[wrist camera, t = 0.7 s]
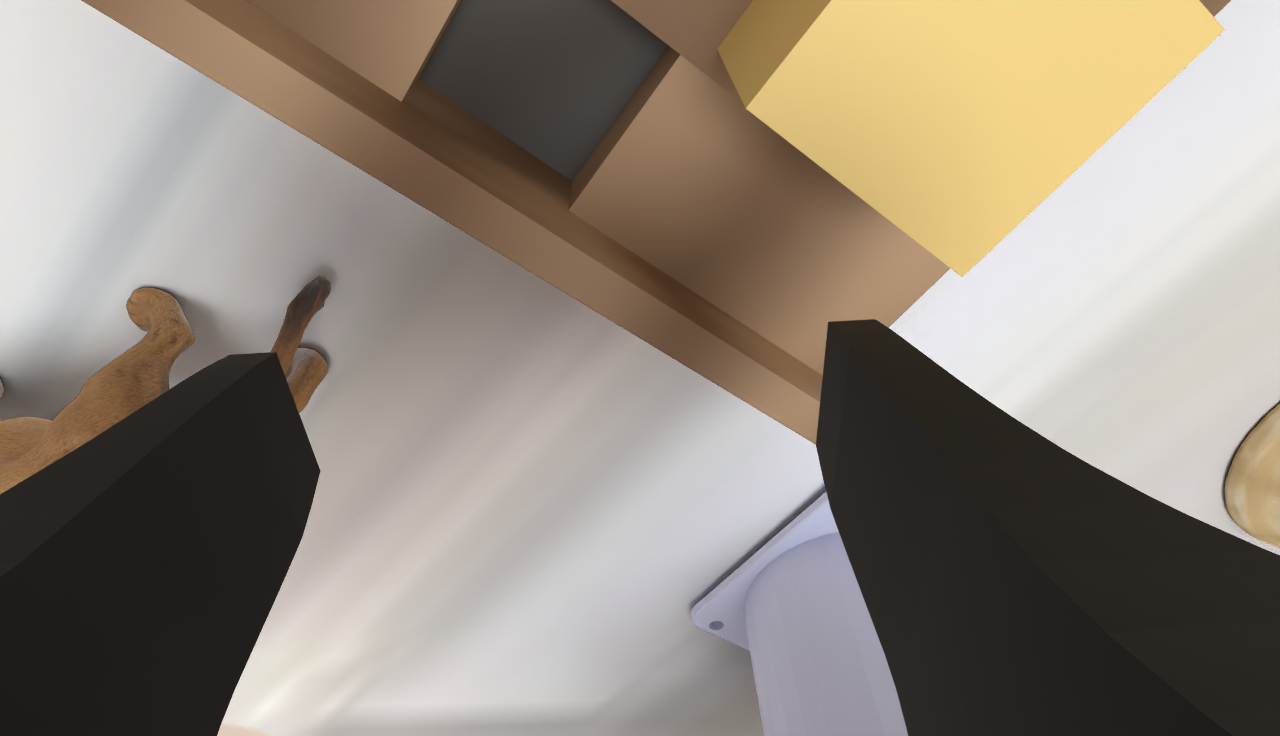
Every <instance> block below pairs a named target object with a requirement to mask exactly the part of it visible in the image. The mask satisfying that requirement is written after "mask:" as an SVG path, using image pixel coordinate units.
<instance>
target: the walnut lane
mask: <svg viewBox="0 0 1280 736" xmlns="http://www.w3.org/2000/svg"><path fill="white" fill-rule="evenodd" d="M82 1H83V2H85V3H87V4H88V5H90V6H92V7H93V8H95V9H97V10H98V11H100V12H102V13H103V14H105V15H107V16H108V17H110V18H112V19H113V20H115V21H116V22H118V23H120V24H121V25H123V26H125V27H126V28H128V29H130V30H131V31H133V32H135V33H136V34H138V35H140V36H141V37H143V38H145V39H146V40H148V41H150V42H151V43H153V44H154V45H156V46H158V47H159V48H161V49H163V50H164V51H166V52H168V53H169V54H171V55H173V56H174V57H176V58H178V59H179V60H181V61H183V62H184V63H186V64H188V65H189V66H191V67H193V68H194V69H196V70H197V71H199V72H201V73H202V74H204V75H206V76H207V77H209V78H211V79H212V80H214V81H216V82H217V83H219V84H221V85H222V86H224V87H226V88H227V89H229V90H231V91H232V92H234V93H235V94H237V95H239V96H240V97H242V98H244V99H245V100H247V101H249V102H250V103H252V104H254V105H255V106H257V107H259V108H260V109H262V110H264V111H265V112H267V113H269V114H270V115H272V116H274V117H275V118H277V119H278V120H280V121H282V122H283V123H285V124H287V125H288V126H290V127H292V128H293V129H295V130H297V131H298V132H300V133H302V134H303V135H305V136H307V137H308V138H310V139H312V140H313V141H315V142H316V143H318V144H320V145H321V146H323V147H325V148H326V149H328V150H330V151H331V152H333V153H335V154H336V155H338V156H340V157H341V158H343V159H345V160H346V161H348V162H350V163H351V164H353V165H355V166H356V167H358V168H359V169H361V170H363V171H364V172H366V173H368V174H369V175H371V176H373V177H374V178H376V179H378V180H379V181H381V182H383V183H384V184H386V185H388V186H389V187H391V188H393V189H394V190H396V191H398V192H399V193H401V194H402V195H404V196H406V197H407V198H409V199H411V200H412V201H414V202H416V203H417V204H419V205H421V206H422V207H424V208H426V209H427V210H429V211H431V212H432V213H434V214H436V215H437V216H439V217H440V218H442V219H444V220H445V221H447V222H449V223H450V224H452V225H454V226H455V227H457V228H459V229H460V230H462V231H464V232H465V233H467V234H469V235H470V236H472V237H474V238H475V239H477V240H479V241H480V242H482V243H483V244H485V245H487V246H488V247H490V248H492V249H493V250H495V251H497V252H498V253H500V254H502V255H503V256H505V257H507V258H508V259H510V260H512V261H513V262H515V263H517V264H518V265H520V266H521V267H523V268H525V269H526V270H528V271H530V272H531V273H533V274H535V275H536V276H538V277H540V278H541V279H543V280H545V281H546V282H548V283H550V284H551V285H553V286H555V287H556V288H558V289H560V290H561V291H563V292H564V293H566V294H568V295H569V296H571V297H573V298H574V299H576V300H578V301H579V302H581V303H583V304H584V305H586V306H588V307H589V308H591V309H593V310H594V311H596V312H598V313H599V314H601V315H602V316H604V317H606V318H607V319H609V320H611V321H612V322H614V323H616V324H617V325H619V326H621V327H622V328H624V329H626V330H627V331H629V332H631V333H632V334H634V335H636V336H637V337H639V338H641V339H642V340H644V341H645V342H647V343H649V344H650V345H652V346H654V347H655V348H657V349H659V350H660V351H662V352H664V353H665V354H667V355H669V356H670V357H672V358H674V359H675V360H677V361H679V362H680V363H682V364H683V365H685V366H687V367H688V368H690V369H692V370H693V371H695V372H697V373H698V374H700V375H702V376H703V377H705V378H707V379H708V380H710V381H712V382H713V383H715V384H717V385H718V386H720V387H722V388H723V389H725V390H726V391H728V392H730V393H731V394H733V395H735V396H736V397H738V398H740V399H741V400H743V401H745V402H746V403H748V404H750V405H751V406H753V407H755V408H756V409H758V410H760V411H761V412H763V413H765V414H766V415H768V416H769V417H771V418H773V419H774V420H776V421H778V422H779V423H781V424H783V425H784V426H786V427H788V428H789V429H791V430H793V431H794V432H796V433H798V434H799V435H801V436H803V437H804V438H806V439H807V440H809V441H811V442H812V443H814V444H816V438H817V428H818V418H819V408H820V398H821V388H822V378H823V368H824V358H825V348H826V338H827V328H828V322H832V321H850V320H868V319H876V320H877V321H879V322H880V323H882V324H883V325H885V326H886V327H888V328H889V327H890V326H891V325H892V324H893V323H894V322H895V321H896V320H897V319H898V318H899V317H900V316H901V315H902V314H903V313H904V312H905V311H906V310H907V309H908V308H909V307H911V306H912V305H913V304H914V303H915V302H916V301H917V300H918V299H919V298H920V297H921V296H922V295H923V294H924V293H925V292H926V291H927V290H928V289H929V288H930V287H931V286H932V285H934V284H935V283H936V282H937V281H938V280H939V279H940V278H941V277H942V276H943V275H944V274H945V273H946V272H947V271H948V270H949V269H950V267H948V266H947V265H946V264H944V263H943V262H942V261H941V260H939V259H938V258H937V257H935V256H934V255H933V254H932V253H930V252H929V251H928V250H926V249H925V248H924V247H923V246H921V245H920V244H919V243H918V242H916V241H915V240H914V239H912V238H911V237H910V236H909V235H907V234H906V233H905V232H903V231H902V230H901V229H900V228H898V227H897V226H896V225H894V224H893V223H892V222H891V221H889V220H888V219H887V218H885V217H884V216H883V215H882V214H880V213H879V212H878V211H876V210H875V209H874V208H873V207H871V206H870V205H869V204H868V203H866V202H865V201H864V200H862V199H861V198H860V197H859V196H857V195H856V194H855V193H853V192H852V191H851V190H850V189H848V188H847V187H846V186H844V185H843V184H842V183H841V182H839V181H838V180H837V179H835V178H834V177H833V176H832V175H830V174H829V173H828V172H826V171H825V170H824V169H823V168H821V167H820V166H819V165H818V164H816V163H815V162H814V161H812V160H811V159H810V158H809V157H807V156H806V155H805V154H803V153H802V152H801V151H800V150H798V149H797V148H796V147H794V146H793V145H792V144H791V143H789V142H788V141H787V140H785V139H784V138H783V137H782V136H780V135H779V134H778V133H776V132H775V131H774V130H773V129H771V128H770V127H769V126H768V125H766V124H765V123H764V122H762V121H761V120H760V119H759V118H757V117H756V116H755V115H753V114H752V113H751V112H750V111H748V110H747V109H746V108H745V106H744V104H743V102H742V100H741V98H740V96H739V94H738V92H737V89H736V87H735V85H734V83H733V81H732V79H731V77H730V75H729V73H728V71H727V69H726V67H725V65H724V63H723V61H722V59H721V56H720V54H719V52H718V50H717V48H718V47H719V46H720V44H721V43H722V41H723V40H724V39H725V37H726V36H727V35H728V33H729V32H730V31H731V29H732V28H733V27H734V25H735V24H736V23H737V21H738V20H739V19H740V17H741V16H742V14H743V13H744V12H745V10H746V9H747V8H748V6H749V5H750V4H751V2H752V1H753V0H82ZM1230 1H1231V0H1200V2H1201V3H1202V4H1203V5H1204V6H1205V7H1206V9H1207V10H1208V11H1209V12H1210V13H1211V14H1212V16H1213V17H1214V16H1215V15H1216V14H1217V13H1218V12H1219V11H1220V10H1221V9H1223V8H1224V7H1225V6H1226V5H1227V4H1228V3H1229V2H1230Z"/></svg>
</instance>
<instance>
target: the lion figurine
mask: <svg viewBox="0 0 1280 736" xmlns="http://www.w3.org/2000/svg"><path fill="white" fill-rule="evenodd" d="M330 290H331V285H330V282H329V281H328V280H327V279H326V278H325V277H321V276H319V277H317V278H316V279H315V280H313V281H312V282H311V283H309V284H307V285H306V286H305V287H304V288H303V290H302V291H301V292H300V293H299V294H298V295H297V296H296V297H295V298H294V299H293V300H292V302H291V303H290V304H289V306H288V308H287V312H286V316H285V319H284V323H283V325H282V328H281V330H280V333H279V335H278V338H277V340H276V342H275V344H274V346H273V348H272V351H271V352H270V353H272V352H276V353H277V356H278V358H279V361H280V364H281V366H282V369H283V372H284V374H285V377H286V380H287V383H288V385H289V388H290V391H291V393H292V396H293V399H294V401H295V404H296V407H297V410H298V412H299V413H300V412H301V411H302V410H303V409H304V408H305V407H306V405H307V404H308V402H309V400H310V398H311V396H312V394H313V392H314V391H315V389H316V388H317V386H318V385H319V384H320V382H321V381H322V380H323V378H324V377H325V376H326V374H327V372H328V366H327V363H326V361H325V360H324V359H323V357H322V356H321V355H320V354H319V353H318V352H316V351H315V350H312V349H308V348H298V345H299V343H300V341H301V338H302V335H303V332H304V330H305V328H306V326H307V324H308V323H309V321H310V319H311V318H312V317H313V315H314V314H315V313H316V312H317V311H319V310H320V309H321V308H322V307H323V306H324V302H325V299H326V298H327V297H328V295H329V294H330ZM126 306H127V310H128V313H129V316H130V319H131V320H132V321H133V322H134V323H135V324H136V325H137V326H138V327H139V328H140V329H142V330H144V331H146V332H148V333H147V335H146V336H145V337H144V338H143V339H142V340H141V341H140V342H139V343H138V344H136V345H135V346H133V347H132V348H130V349H129V350H127V351H126V352H125V353H123V354H122V355H120V356H119V357H118V358H116V359H115V360H113V361H112V362H111V363H109V364H108V365H106V366H105V367H104V368H102V369H101V370H100V371H99V372H97V373H96V374H95V375H94V376H92V377H91V378H90V379H89V380H88V381H87V382H86V383H85V384H84V386H83V387H82V389H81V391H80V393H79V394H78V395H77V397H76V398H75V399H74V400H73V401H72V402H71V403H70V404H68V405H67V406H66V407H65V408H64V409H63V410H62V411H60V412H59V414H58V415H57V416H56V417H55V418H54V420H49V419H43V418H36V417H19V418H13V419H7V420H2V421H0V494H1V493H3V492H5V491H7V490H8V489H10V488H12V487H13V486H15V485H17V484H18V483H20V482H22V481H23V480H25V479H27V478H28V477H30V476H32V475H33V474H35V473H37V472H38V471H40V470H42V469H43V468H45V467H47V466H48V465H50V464H52V463H53V462H55V461H57V460H58V459H60V458H62V457H63V456H65V455H67V454H68V453H70V452H72V451H73V450H75V449H77V448H78V447H80V446H82V445H83V444H85V443H86V442H88V441H90V440H91V439H93V438H94V437H96V436H97V435H99V434H101V433H102V432H104V431H105V430H107V429H108V428H110V427H111V426H113V425H115V424H116V423H118V422H119V421H121V420H122V419H124V418H126V417H127V416H129V415H130V414H132V413H133V412H135V411H137V410H138V409H140V408H141V407H143V406H144V405H146V404H147V403H149V402H151V401H152V400H154V399H155V398H157V397H158V396H160V395H162V394H163V393H165V392H166V391H168V390H169V372H170V369H171V366H172V364H173V362H174V361H175V359H176V358H177V357H178V356H179V354H181V353H182V352H183V351H185V350H186V349H187V348H188V347H189V346H191V345H192V344H193V342H194V340H195V337H194V333H193V331H192V329H191V327H190V325H189V323H188V321H187V319H186V317H185V315H184V313H183V311H182V308H181V306H180V305H179V303H178V302H177V300H176V299H175V298H174V297H173V296H171V295H170V294H168V293H167V292H164V291H162V290H159V289H154V288H140V289H136V290H135V291H133V293H132V294H131V296H130V298H129V299H128V301H127V304H126ZM3 392H4V388H3V384H2V382H1V380H0V397H1V396H2V395H3Z"/></svg>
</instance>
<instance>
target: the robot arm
mask: <svg viewBox="0 0 1280 736" xmlns="http://www.w3.org/2000/svg"><path fill="white" fill-rule="evenodd" d="M816 447H817V452H818V456H819V461H820V466H821V470H822V475H823V480H824V484H825V488H826V492H825V493H824V494H823V495H821V496H820V497H819V498H818V499H817V500H816V501H815V502H813V503H812V504H811V505H810V506H809V507H808V508H807V509H805V510H804V511H803V512H802V513H801V514H800V515H798V516H797V517H796V518H795V519H794V520H793V521H792V522H790V523H789V524H788V525H787V526H786V527H785V528H784V529H782V530H781V531H780V532H779V533H778V534H777V535H775V536H774V537H773V538H772V539H771V540H770V541H769V542H767V543H766V544H765V545H764V546H763V547H762V548H761V549H759V550H758V551H757V552H756V553H755V554H754V555H752V556H751V557H750V558H749V559H748V560H747V561H746V562H744V563H743V564H742V565H741V566H740V567H739V568H738V569H736V570H735V571H734V572H733V573H732V574H731V575H730V576H728V577H727V578H726V579H725V580H724V581H723V582H721V583H720V584H719V585H718V586H717V587H716V588H715V589H713V590H712V591H711V592H710V593H709V594H708V595H707V596H705V597H704V598H703V599H702V600H701V601H700V602H698V603H697V604H696V605H695V606H694V607H693V608H692V609H691V612H690V616H691V622H692V624H693V625H694V626H696V627H698V628H700V629H702V630H704V631H706V632H709V633H711V634H713V635H715V636H717V637H720V638H722V639H724V640H726V641H728V642H731V643H733V644H735V645H737V646H739V647H741V648H744V649H746V650H748V651H750V655H751V661H752V667H753V673H754V679H755V685H756V691H757V697H758V703H759V709H760V715H761V721H762V727H763V733H764V736H1280V555H1277V554H1275V553H1272V552H1270V551H1267V550H1265V549H1263V548H1260V547H1258V546H1256V545H1253V544H1251V543H1249V542H1247V541H1244V540H1242V539H1240V538H1238V537H1236V536H1233V535H1231V534H1229V533H1227V532H1224V531H1222V530H1220V529H1218V528H1215V527H1213V526H1211V525H1209V524H1207V523H1204V522H1202V521H1200V520H1198V519H1195V518H1193V517H1191V516H1189V515H1187V514H1185V513H1182V512H1180V511H1178V510H1176V509H1174V508H1172V507H1170V506H1168V505H1166V504H1164V503H1162V502H1160V501H1158V500H1156V499H1154V498H1152V497H1150V496H1148V495H1146V494H1144V493H1142V492H1140V491H1138V490H1136V489H1135V488H1133V487H1131V486H1129V485H1127V484H1125V483H1123V482H1121V481H1120V480H1118V479H1116V478H1114V477H1112V476H1110V475H1108V474H1106V473H1105V472H1103V471H1101V470H1099V469H1097V468H1095V467H1093V466H1091V465H1090V464H1088V463H1086V462H1084V461H1083V460H1081V459H1079V458H1078V457H1076V456H1074V455H1072V454H1071V453H1069V452H1067V451H1065V450H1064V449H1062V448H1060V447H1059V446H1057V445H1056V444H1054V443H1053V442H1051V441H1049V440H1048V439H1046V438H1045V437H1043V436H1041V435H1040V434H1038V433H1037V432H1035V431H1033V430H1032V429H1030V428H1029V427H1027V426H1025V425H1024V424H1022V423H1021V422H1019V421H1017V420H1016V419H1014V418H1013V417H1011V416H1010V415H1008V414H1007V413H1006V412H1004V411H1003V410H1001V409H1000V408H998V407H997V406H995V405H994V404H992V403H991V402H989V401H988V400H986V399H985V398H983V397H982V396H981V395H979V394H978V393H976V392H975V391H974V390H972V389H971V388H969V387H968V386H967V385H965V384H964V383H962V382H961V381H960V380H958V379H957V378H955V377H954V376H953V375H951V374H950V373H949V372H947V371H946V370H945V369H943V368H942V367H940V366H939V365H938V364H936V363H935V362H934V361H932V360H931V359H930V358H928V357H927V356H926V355H924V354H923V353H922V352H920V351H919V350H918V349H916V348H915V347H914V346H912V345H911V344H910V343H908V342H907V341H906V340H904V339H903V338H902V337H900V336H899V335H898V334H896V333H895V332H893V331H892V330H891V329H889V328H888V327H886V326H885V325H883V324H882V323H880V322H879V321H877V320H876V319H868V320H850V321H832V322H828V328H827V338H826V348H825V358H824V368H823V378H822V388H821V398H820V408H819V418H818V428H817V438H816ZM319 474H320V469H319V466H318V463H317V461H316V458H315V455H314V453H313V450H312V447H311V445H310V442H309V439H308V436H307V434H306V431H305V428H304V426H303V423H302V420H301V418H300V415H299V412H298V410H297V407H296V404H295V401H294V399H293V396H292V393H291V391H290V388H289V385H288V383H287V380H286V377H285V374H284V372H283V369H282V366H281V364H280V361H279V358H278V356H277V353H276V352H272V353H254V354H236V355H229V356H227V357H225V358H223V359H221V360H219V361H217V362H215V363H213V364H211V365H209V366H207V367H206V368H204V369H202V370H201V371H199V372H197V373H195V374H194V375H192V376H190V377H189V378H187V379H186V380H184V381H182V382H181V383H179V384H177V385H176V386H174V387H173V388H171V389H169V390H168V391H166V392H165V393H163V394H162V395H160V396H158V397H157V398H155V399H154V400H152V401H151V402H149V403H147V404H146V405H144V406H143V407H141V408H140V409H138V410H137V411H135V412H133V413H132V414H130V415H129V416H127V417H126V418H124V419H122V420H121V421H119V422H118V423H116V424H115V425H113V426H111V427H110V428H108V429H107V430H105V431H104V432H102V433H101V434H99V435H97V436H96V437H94V438H93V439H91V440H90V441H88V442H86V443H85V444H83V445H82V446H80V447H78V448H77V449H75V450H73V451H72V452H70V453H68V454H67V455H65V456H63V457H62V458H60V459H58V460H57V461H55V462H53V463H52V464H50V465H48V466H47V467H45V468H43V469H42V470H40V471H38V472H37V473H35V474H33V475H32V476H30V477H28V478H27V479H25V480H23V481H22V482H20V483H18V484H17V485H15V486H13V487H12V488H10V489H8V490H7V491H5V492H3V493H1V494H0V736H217V734H218V731H219V728H220V725H221V723H222V720H223V718H224V715H225V713H226V710H227V708H228V705H229V703H230V700H231V698H232V695H233V693H234V690H235V688H236V686H237V683H238V681H239V679H240V677H241V674H242V672H243V670H244V668H245V666H246V663H247V661H248V659H249V657H250V654H251V652H252V650H253V648H254V646H255V643H256V641H257V639H258V637H259V634H260V632H261V630H262V628H263V625H264V623H265V621H266V619H267V617H268V614H269V612H270V610H271V608H272V605H273V603H274V601H275V599H276V597H277V594H278V592H279V590H280V588H281V585H282V583H283V581H284V578H285V576H286V574H287V572H288V569H289V567H290V565H291V562H292V560H293V558H294V555H295V553H296V551H297V548H298V546H299V544H300V541H301V539H302V536H303V533H304V529H305V526H306V523H307V519H308V516H309V513H310V509H311V506H312V502H313V498H314V494H315V490H316V486H317V482H318V478H319Z"/></svg>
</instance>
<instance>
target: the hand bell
mask: <svg viewBox="0 0 1280 736" xmlns="http://www.w3.org/2000/svg"><path fill="white" fill-rule="evenodd" d="M1225 499H1226V506H1227V508H1228V512H1229V514H1230V515H1231V517H1232V518H1233V520H1234V521H1235V522H1236V524H1237V525H1238V526H1239V527H1241V528H1242V529H1243V530H1244V531H1245V532H1246V533H1248V534H1249V535H1250V536H1253V537H1255V538H1256V539H1258V540H1261V541H1263V542H1266V543H1268V544H1271V545H1273V546H1276V547H1279V548H1280V403H1279V404H1278V405H1277V406H1276V407H1275V408H1274V409H1273V410H1272V411H1270V412H1269V413H1268V414H1267V415H1266V416H1265V417H1264V418H1263V419H1262V420H1261V421H1260V422H1259V424H1258V425H1257V426H1256V427H1255V428H1254V429H1253V430H1252V431H1251V432H1250V433H1249V435H1248V436H1247V437H1246V439H1245V440H1244V442H1243V443H1242V444H1241V446H1240V448H1239V449H1238V451H1237V453H1236V455H1235V457H1234V459H1233V462H1232V465H1231V467H1230V469H1229V472H1228V476H1227V479H1226V483H1225Z"/></svg>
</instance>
